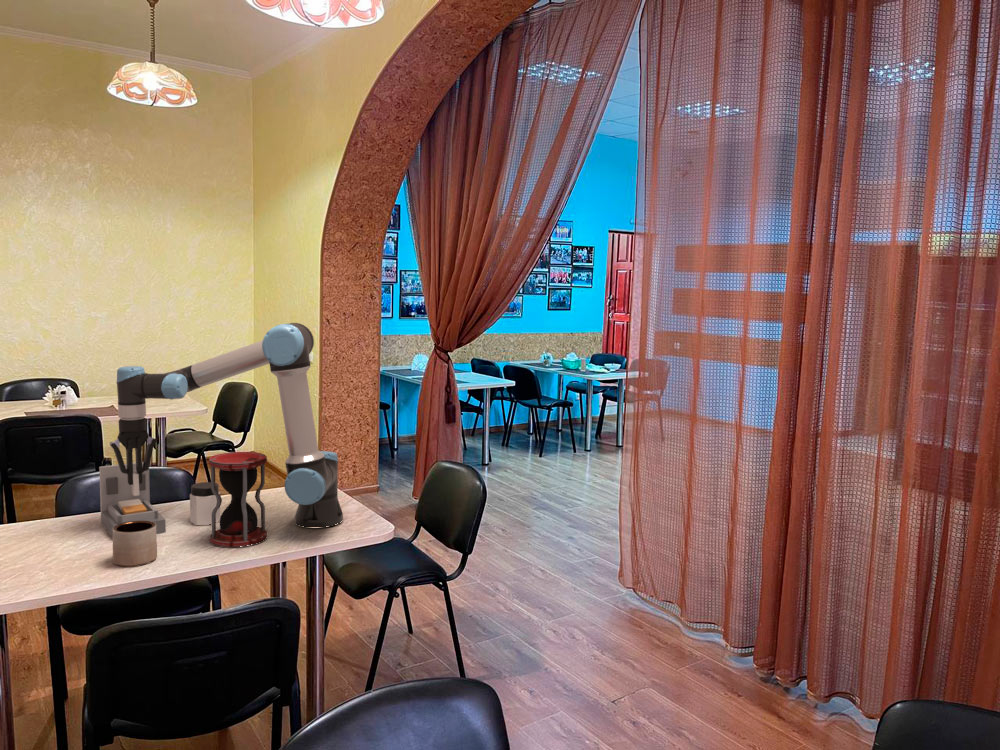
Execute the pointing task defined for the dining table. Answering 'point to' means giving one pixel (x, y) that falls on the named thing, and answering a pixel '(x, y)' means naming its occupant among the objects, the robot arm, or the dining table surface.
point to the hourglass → (238, 499)
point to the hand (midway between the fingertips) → (135, 494)
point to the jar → (203, 503)
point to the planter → (134, 543)
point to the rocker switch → (131, 506)
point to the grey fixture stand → (119, 490)
